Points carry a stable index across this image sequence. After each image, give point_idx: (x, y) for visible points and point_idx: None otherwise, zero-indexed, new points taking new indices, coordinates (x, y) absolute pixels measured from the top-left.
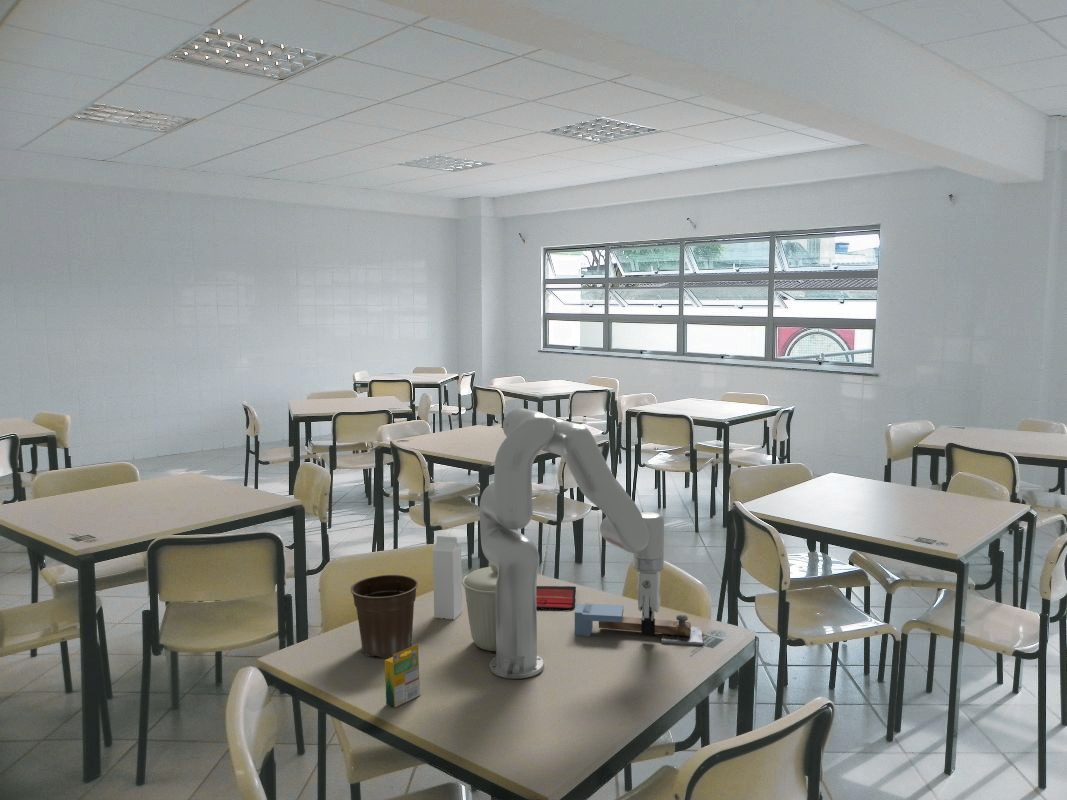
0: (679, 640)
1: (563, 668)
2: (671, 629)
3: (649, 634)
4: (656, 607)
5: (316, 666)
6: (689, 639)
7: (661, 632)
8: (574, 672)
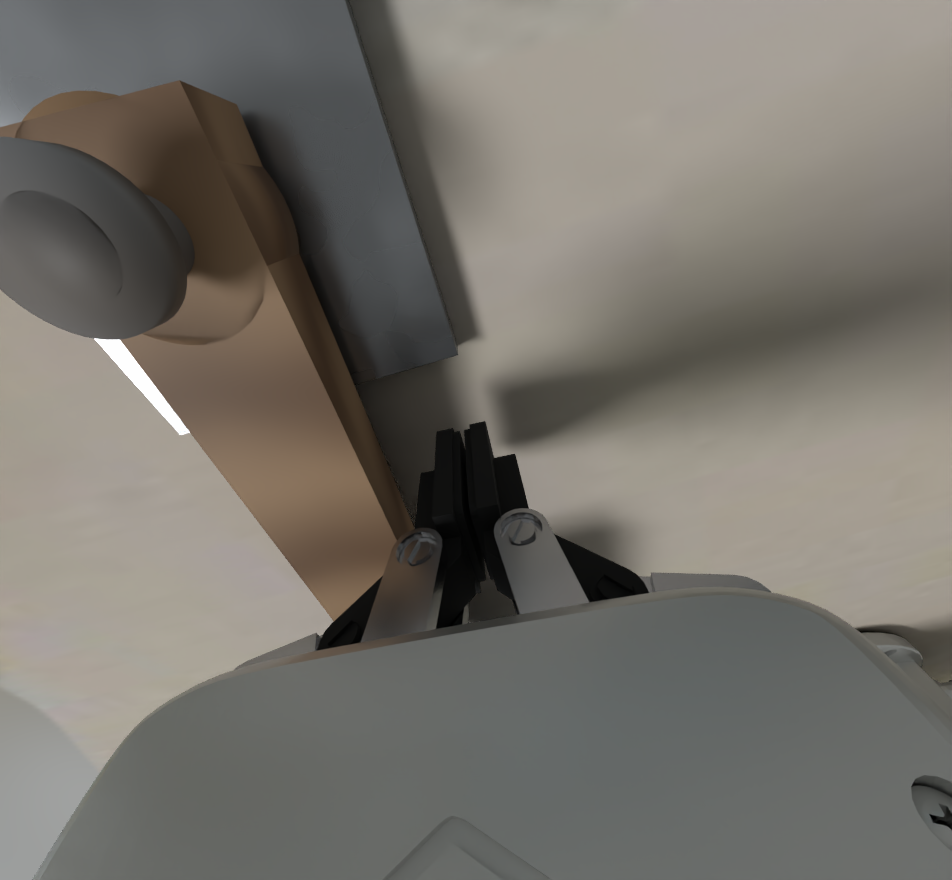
0: (391, 201)
1: (834, 599)
2: (310, 326)
3: (491, 451)
4: (945, 714)
5: None
6: (302, 87)
7: (356, 394)
8: (879, 566)
